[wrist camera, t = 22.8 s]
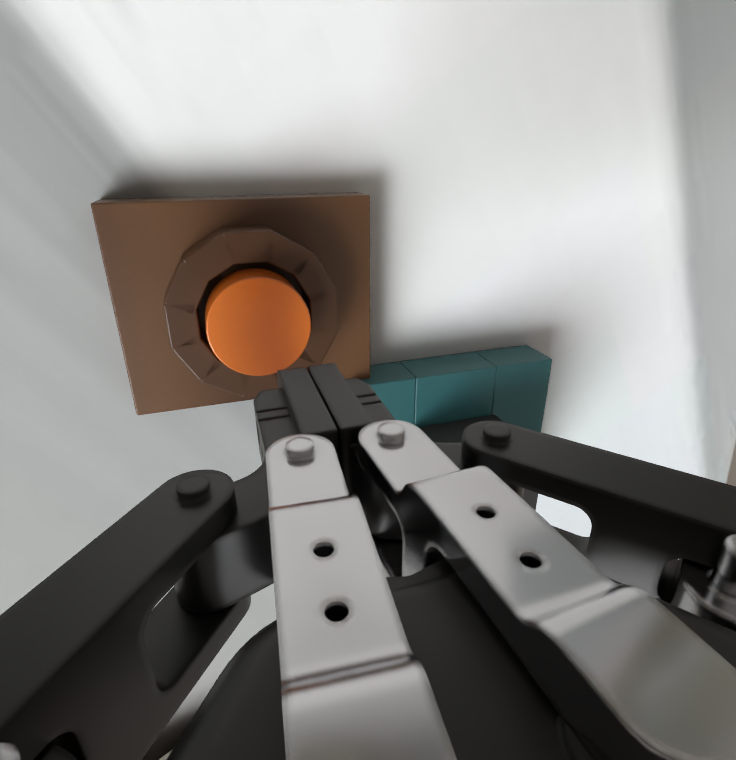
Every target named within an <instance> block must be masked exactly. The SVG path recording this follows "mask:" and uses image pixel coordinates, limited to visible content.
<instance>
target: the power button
mask: <svg viewBox="0 0 736 760" xmlns="http://www.w3.org/2000/svg"><path fill="white" fill-rule="evenodd" d="M205 323H206V334H207V338H208V342H209V345H210V347H211V349H212V351H213V352H214V354H215V355H216V356H217V358H218V359H219V360H220V361H221V362H222V363H223V364H225V365H226V366H227V367H229V368H231V369H232V370H234V371H237V372H239V373H242V374H246V375H252V376H264V375H270V374H274V373H277V370H283V369H285V368H287V367H289V366H290V365H291V364H293V363H294V362H295V361H296V360H297V359H298V358H299V357H300V355H301V354H302V353H303V351H304V349H305V348H306V346H307V343H308V341H309V337H310V332H311V319H310V314H309V310H308V308H307V305H306V304H305V302H304V300H303V299H302V297H301V296H300V295H299V293H298V292H297V291H296V289H295V288H294V287H293V286H292V284H291V283H290V282H289V281H288V280H286V279H285V278H284V277H282V276H281V275H279V274H277V273H275V272H272V271H270V270H266V269H260V268H248V269H243V270H239V271H236V272H234V273H231V274H230V275H228V276H226V277H225V278H223V279H222V280H221V281H220V282H219V283H218V284H217V285H216V286H215V287H214V289H213V290H212V292H211V294H210V295H209V298H208V300H207V303H206V308H205Z"/></svg>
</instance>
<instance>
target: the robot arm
mask: <svg viewBox="0 0 736 760" xmlns="http://www.w3.org/2000/svg"><path fill="white" fill-rule="evenodd" d="M277 382H278V389H271V390H264V391H260V392H259V393H258V395H257V396H256V398H255V400H254V409H255V417H256V425H257V433H258V442H259V450H260V456H261V460H262V465H261V466H260V467H259V468H258V469H257V470H256V471H255V472H253V473H252V474H250V475H249V476H247V477H245V478H242V479H240V480H238V481H235V482H233V480H232V479H231V478H230V477H229V476H228V475H227V474H225V473H223V472H220V471H215V470H196V471H191V472H187V473H184V474H181V475H178V476H176V477H174V478H172V479H170V480H168V481H167V482H165V483H164V484H163V485H161V486H160V487H159V488H158V489H156V490H155V491H154V492H153V493H151V494H150V495H149V496H148V497H146V498H145V499H144V500H143V501H141V502H140V503H139V504H138V505H136V506H135V507H134V508H133V509H132V510H130V511H129V512H128V513H127V514H125V515H124V516H123V517H122V518H120V519H119V520H118V521H117V522H115V523H114V524H113V525H112V526H110V527H109V528H108V529H107V530H106V531H104V532H103V533H102V534H101V535H99V536H98V537H97V538H96V539H94V540H93V541H92V542H91V543H89V544H88V545H87V546H86V547H84V548H83V549H82V550H81V551H79V552H78V553H77V554H76V555H75V556H73V557H72V558H71V559H70V560H68V561H67V562H66V563H65V564H63V565H62V566H61V567H60V568H58V569H57V570H56V571H55V572H53V573H52V574H51V575H50V576H48V577H47V578H46V579H45V580H44V581H42V582H41V583H40V584H39V585H37V586H36V587H35V588H34V589H32V590H31V591H30V592H29V593H27V594H26V595H25V596H24V597H22V598H21V599H20V600H19V601H17V602H16V603H15V604H14V605H13V606H11V607H10V608H9V609H8V610H6V611H5V612H4V613H3V614H1V615H0V760H142V758H143V757H144V755H145V754H146V753H147V751H148V750H149V748H150V747H151V746H152V744H153V743H154V741H155V740H156V739H157V737H158V736H159V734H160V733H161V732H162V730H163V729H164V727H165V726H166V725H167V723H168V722H169V720H170V719H171V718H172V716H173V715H174V714H175V712H176V711H177V709H178V708H179V707H180V705H181V704H182V702H183V701H184V700H185V698H186V697H187V695H188V694H189V693H190V691H191V690H192V688H193V687H194V686H195V684H196V683H197V681H198V680H199V679H200V677H201V676H202V674H203V673H204V672H205V670H206V669H207V667H208V666H209V665H210V663H211V662H212V660H213V659H214V658H215V656H216V655H217V653H218V652H219V651H220V649H221V648H222V646H223V645H224V644H225V642H226V641H227V639H228V638H229V637H230V635H231V634H232V632H233V631H234V630H235V628H236V627H237V625H238V624H239V623H240V621H241V620H242V618H243V617H244V616H245V614H246V613H247V611H248V609H249V606H250V602H251V595H252V594H254V593H256V592H258V591H260V590H262V589H263V588H265V587H267V586H269V585H271V584H273V583H274V591H275V604H276V617H277V620H275V621H274V622H272V623H271V624H269V625H267V626H266V627H264V628H263V629H262V630H260V631H259V632H258V633H257V634H255V635H254V636H253V637H252V638H251V639H250V640H249V641H248V642H247V643H246V644H245V645H244V646H243V647H242V648H240V649H239V651H238V652H237V653H236V654H235V656H234V657H233V658H232V659H231V660H230V662H229V663H228V664H227V666H226V667H225V668H224V670H223V671H222V673H221V674H220V676H219V677H218V679H217V680H216V682H215V684H214V685H213V687H212V688H211V690H210V691H209V693H208V695H207V696H206V698H205V699H204V701H203V703H202V704H201V706H200V707H199V709H198V710H197V712H196V714H195V715H194V717H193V718H192V720H191V721H190V723H189V725H188V726H187V728H186V729H185V731H184V732H183V734H182V736H181V737H180V739H179V740H178V742H177V743H176V745H175V747H174V748H173V750H172V751H171V753H170V754H169V756H168V757H167V759H166V760H736V487H735V486H732V485H728V484H725V483H721V482H717V481H714V480H710V479H707V478H703V477H699V476H696V475H692V474H689V473H685V472H681V471H678V470H674V469H671V468H667V467H663V466H660V465H656V464H653V463H649V462H645V461H642V460H638V459H635V458H631V457H627V456H624V455H620V454H617V453H613V452H609V451H606V450H602V449H599V448H595V447H591V446H588V445H584V444H581V443H577V442H574V441H570V440H566V439H563V438H559V437H556V436H552V435H548V434H545V433H541V432H538V431H534V430H530V429H527V428H523V427H520V426H516V425H512V424H509V423H505V422H499V421H481V422H476V423H473V424H471V425H469V426H467V427H466V428H465V429H464V431H463V437H462V443H440V442H433V441H432V440H431V439H430V438H429V437H428V436H427V435H426V434H425V433H424V432H423V431H422V430H421V429H420V428H418V427H417V426H415V425H414V424H411V423H408V422H405V421H400V420H395V418H394V417H393V416H392V414H391V413H390V412H389V410H388V409H387V408H386V406H385V405H384V404H383V402H381V400H380V398H379V397H378V396H377V395H376V393H375V392H374V390H373V389H372V388H371V386H370V385H369V384H367V383H365V382H363V381H361V380H359V379H358V378H350V379H345V378H344V377H343V375H342V374H341V372H340V371H339V369H338V368H337V366H336V365H335V363H329V364H322V365H314V366H307V367H299V368H291V369H283V370H277ZM524 489H527V490H530V491H533V492H536V493H539V494H542V495H545V496H548V497H551V498H554V499H557V500H560V501H562V502H565V503H568V504H571V505H574V506H576V507H579V508H580V509H582V510H583V511H584V512H585V513H586V514H587V515H588V516H589V518H590V520H591V523H592V529H591V534H590V537H581V536H578V535H575V534H573V533H570V532H567V531H565V530H562V529H559V528H557V527H554V526H551V525H550V524H549V523H548V522H547V521H546V520H545V519H544V518H543V517H541V516H540V515H539V514H538V513H537V512H536V511H535V510H534V509H533V508H532V507H531V506H530V505H528V504H527V503H526V502H525V501H524V500H523V494H524ZM678 559H679V560H678ZM173 585H174V587H173ZM172 587H173V588H172ZM171 588H172V589H171ZM170 589H171V590H170ZM169 590H170V591H169ZM168 591H169V593H168V594H167V595H166V596H165V597H164V598H163V599H162V600H161V601H160V599H161V598H162V597H163V596H164V595H165V594H166V593H167V592H168ZM159 601H160V602H159ZM158 602H159V603H158ZM157 603H158V604H157ZM156 604H157V606H156V607H155V608H154V606H155V605H156ZM153 608H154V609H153ZM152 609H153V610H152Z"/></svg>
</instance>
